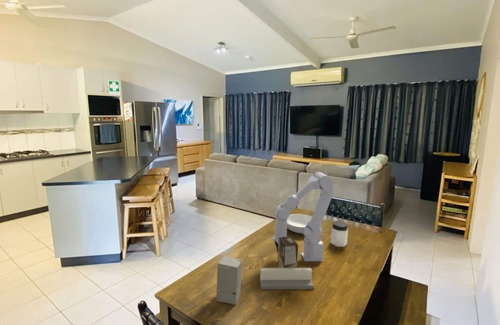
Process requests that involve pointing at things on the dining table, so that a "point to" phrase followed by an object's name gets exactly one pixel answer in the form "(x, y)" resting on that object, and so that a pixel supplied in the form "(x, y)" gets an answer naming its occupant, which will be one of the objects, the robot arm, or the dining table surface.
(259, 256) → the dining table surface
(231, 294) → the skincare box
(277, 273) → the board
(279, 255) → the coffee box
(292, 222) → the serving bowl
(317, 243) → the robot arm
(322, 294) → the dining table surface
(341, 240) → the jar
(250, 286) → the dining table surface
